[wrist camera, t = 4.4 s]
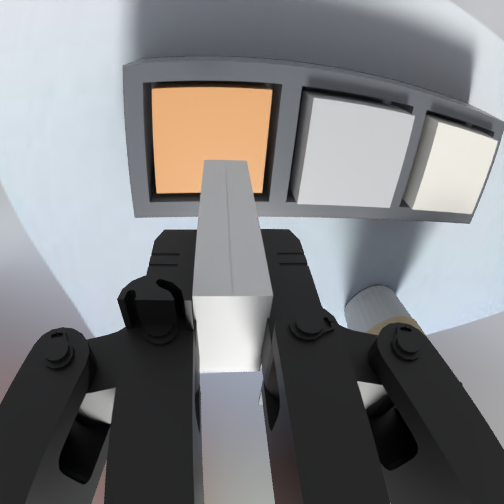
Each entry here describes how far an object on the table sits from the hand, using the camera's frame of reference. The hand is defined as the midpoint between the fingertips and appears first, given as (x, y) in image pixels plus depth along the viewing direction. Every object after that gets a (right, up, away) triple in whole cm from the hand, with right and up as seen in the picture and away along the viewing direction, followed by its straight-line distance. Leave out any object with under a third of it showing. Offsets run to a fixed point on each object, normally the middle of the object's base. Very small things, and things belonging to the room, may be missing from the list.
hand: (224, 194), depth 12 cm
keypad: (+6, +6, +9) cm, 12 cm away
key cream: (+14, +4, +7) cm, 16 cm away
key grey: (+6, +4, +6) cm, 10 cm away
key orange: (-1, +5, +6) cm, 8 cm away
